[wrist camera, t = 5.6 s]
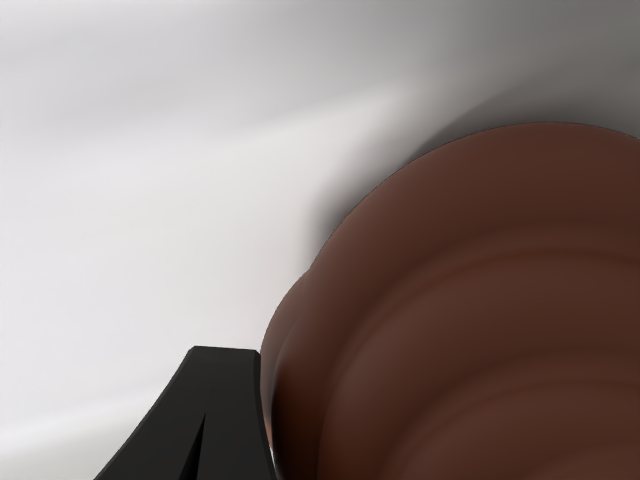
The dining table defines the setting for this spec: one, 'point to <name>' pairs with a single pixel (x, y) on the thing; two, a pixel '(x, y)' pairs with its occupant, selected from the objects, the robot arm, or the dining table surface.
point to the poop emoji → (470, 319)
